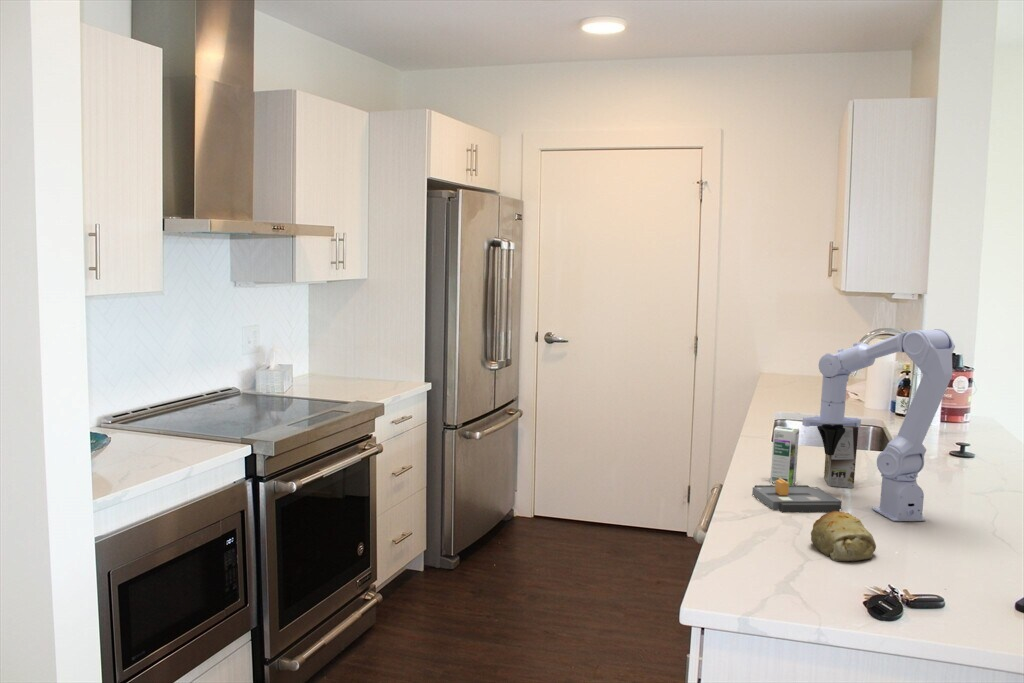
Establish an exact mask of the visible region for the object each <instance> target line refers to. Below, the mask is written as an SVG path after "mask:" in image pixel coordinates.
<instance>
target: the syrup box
mask: <svg viewBox="0 0 1024 683" xmlns="http://www.w3.org/2000/svg"><path fill="white" fill-rule="evenodd" d="M799 435H800V428H798V427H797V428H796V427H789V426H788V427H787V426H781V425H780V426H779V425H778V426H775V427H774V429H773V437H772V454H771V455H772V456H771V468H770V469H771V471H770V478H769V479H770V483H771V482H774V483H773V484H775V483H776V480H779V478H781V479H783V480H785V481H786V482H788V483H789V485H794V484H795V482H796V481H797V466H798V455H799V454H798V452H799V437H800V436H799ZM793 483H794V484H793Z"/></svg>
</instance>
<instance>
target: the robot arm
mask: <svg viewBox="0 0 1024 683" xmlns="http://www.w3.org/2000/svg"><path fill="white" fill-rule="evenodd" d="M955 348H956V344H955V343H954V341H953V339H952V337H951V335H950V334H949V333H948V332H947V331H946V330H944V329H941V328H935V329H922V330H920V329H912V330H909V331H906V332H901V333H900V332H899V333H898V334H895V335H893V336H889V338H886V339H884V340H882V341H881V340H880V341H879V342H876V343H874V344H871V345H869V344H868V343H865V342H863V343H861V341H860V342H855V343H853V344H852V347H849V348H845V349H843V348H839V349H838V350H837V352H836V353H825V354H824V355H822V356H821V357H820V358H819V360H818V370H819V372H820V373H821V376H822V385H821V398H820V409H819V410H820V412H819V416H810V417H808V416H807V417H802V426H804V427H805V428H807V427H808V428H809V427H816V428H817V430H818V432H819V435H820V436H821V440H822V444H823V450H824V455H826V454H827V455H834V452H835V449H836V447H837V444H838V442H839V440H840V439H841V437H842V436H843V434H844V433H845V428H843V426H856V427H859V428H861V424H862V419H860V418H858V417H845V413H846V412H845V411H846V398H847V397H846V396H847V385H848V384H847V383H848V382H849V376H850V375H851V374H852V373H853V372H856V371H859V370H862V369H866V368H868V367H870V366H873V365H874V363H875V361H876V359H878V358H882V357H886V356H889V355H892V354H895V353H905V355H906V356H908V358H909V359H910V360H911V361H912V362H913V363H914V365H915V366H916V367H917V369H919V370H920V372H921V374H922V378H921V379H920V382H919V385H918V386H917V389H916V391H915V393H914V396H913V398H912V400H911V402H910V405H909V407H908V410H907V412H906V413H905V416H904V419H903V421H902V424H901V426H900V429H899V431H898V434H897V435H896V436H895V437H893V438H892V439H891V440H890V441H888V442H887V445H886V446H885V448H884V449H883V451H881V452H879V454H878V455H877V458H876V466H877V469H878V471H879V473H880V476H881V486H880V487H881V490H880V502H879V506H872V507H871V510H873V511H875V512H876V513H878V514H880V515H882V516H884V517H886V518H887V519H889V520H890V521H893V522H925V521H926V518H925V517H923V509H924V501H925V500H924V497H925V494H924V490H923V489H922V487H920V486H919V485H918V483H917V482H918V481H917V478H918V474H919V473H920V472H921V471H922V470H923V468H924V466H925V455H926V452H927V448H926V447H925V445H924V444H923V442H924V440H925V438H926V437H927V434H928V431H929V429H930V427H931V425H932V422H933V420H934V418H935V416H936V413H937V411H938V409H939V406H940V405H941V402H942V399H943V398H944V395H945V393H946V391H947V389H948V387H949V384H950V381H951V380H952V378H953V377H952V376H953V353H954V350H955ZM828 423H829V424H828Z"/></svg>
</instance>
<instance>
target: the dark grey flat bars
mask: <svg viewBox="0 0 1024 683" xmlns="http://www.w3.org/2000/svg"><path fill="white" fill-rule="evenodd" d="M754 487H775V485H774V484H773V485H768V484H767V485H766V484H765V485H761V484H760V485H757V484H756V485H754ZM789 487H810V486H809V485H807V484H805V485H804V484H803V485H801V484H800V485H798V484H796V485H795V484H793V485H789ZM778 511H780V512H781V511H782V512H781V513H783V512H799V513H829V512H832V511H839V512H841V510H840V504H838V503H780V508H779V510H778Z"/></svg>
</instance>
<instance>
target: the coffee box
mask: <svg viewBox="0 0 1024 683" xmlns="http://www.w3.org/2000/svg"><path fill="white" fill-rule="evenodd" d="M827 424H829V423H827ZM843 428H845V433H844V434H843V436H842V437H841V439H840V440H839V442H838V444H837V447H836V449H835V452H834V455H827V454H824V455H825V456H824V458H825V459H824V472H823V479H824V480H825V481H826V483H827V484H828V486H829V487H837V488H838V487H839V488H846V487H848V489H854V486H855V475H856V464H857V463H856V462H857V449H858V439H859V429H860V427H856V426H843Z"/></svg>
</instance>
